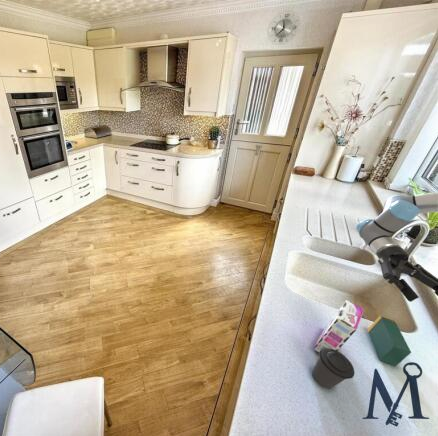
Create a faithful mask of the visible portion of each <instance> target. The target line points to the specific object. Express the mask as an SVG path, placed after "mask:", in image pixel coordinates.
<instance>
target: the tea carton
mask: <svg viewBox="0 0 438 436" xmlns="http://www.w3.org/2000/svg"><path fill="white" fill-rule="evenodd" d="M366 330H367V333H368V336H369V337H370V339H371V342H372V346H373V348H374V350H375V353H376V355H377V358H378V361H380V362H382V363H385V364H387V365H389V366H392V367H397V366H398V365H399V364H401V362H403V361H404V360H405V359H406V358H407V357H408V356H409V355H411V353H412V351H411V348H410V347H409V345H408V343H407V341H406V339H405V337H404V336H403V333H402V332H401V330H400V328H399V326H398V323H397V321H396V320H394V319H392V318H389V317H385V316H384V315H383V316H382V315H378V316H377V318H376V319H375V320H374V321H373V323H371V324H370V326H369V327H368V328H367V329H366Z"/></svg>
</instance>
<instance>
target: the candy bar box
mask: <svg viewBox="0 0 438 436" xmlns="http://www.w3.org/2000/svg"><path fill="white" fill-rule="evenodd" d="M364 311H365V309H364V308H362V307H361V306H359V305H356V304H354V303H353V302H352V301H349V300H347V299H346V300H345V301H344V302H343V304H342V305H341V306H340V308H339V309H338V310H337V312H336V313H335V314H334V315H333V317H332V318H331V320H330V321H329V322H328V323H327V325H326V326H325V327H324V329H322V332H321V333H320V335H319V337H318V339H317V341H316V343H315V344H314V346H313V348H312V349H313V351H314V352H316V353H318V354H319V355H320V351H321V350H322V349H325V348H330V349H334V350H336V351H338V352H339V350H340V349H341V348H342V347H343V345H344V344H345V343H346V342H347V341H348V340H349V339H350V338H351V337H352V336H353V335H354V333H356V331H357V330H358V327H359V324H360V322H361V319H362V317H363V314H364Z"/></svg>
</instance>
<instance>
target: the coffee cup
mask: <svg viewBox="0 0 438 436" xmlns="http://www.w3.org/2000/svg"><path fill="white" fill-rule="evenodd" d="M311 376H312V379H313V380H314V382H315V383H316V384H317V385H318V386H319V387H321V388H323V389H327V390H329V389H332V388H334V387H335V386H338V385H339V384H341V383H342V382H343V381H345V380H349V379H353V378H354V377H355V368H354V365H353V364H352V362H351V361H350V359H349V358H348V357H347V356H346V355H344V354H343V353H341V352H340V351H339V350H338V351H336V350H334V349H330V348H325V349H322V350H321V351H320V354H319V356H318V359H317V361H316V363H315V366H314V367H313V369H312V371H311Z"/></svg>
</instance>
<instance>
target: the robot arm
mask: <svg viewBox="0 0 438 436" xmlns="http://www.w3.org/2000/svg"><path fill="white" fill-rule="evenodd" d="M431 213H438V191H435V192H428V193H421V194H414V195H402V194H396V195H392V196H390V197H389V198H387V200H386V201H385V202H384V205H383V210H382V212H381V213H380V214H379V215H378V216H376V218H374V219H372V218H368V219H364V220H363V221H359V222H358V224H356V226H355V230H356V232H357V233H358V235H359V237H360V238H361V239H363V241H364V243H366V244H367V246H368V248H370V249H371V250H372V252H373V254H374V255H376V257H377V258H378V260H377V262H378V264H379V265H380V269H381V273H382V278H383V279H384V280H386V281H387V282H388V284H390V285H392V284H394V285H395V286H396V287H397V289H398V290H399V291H400V292H401V294H402V295H403V296H404V298H405V299H406V301H408V302H410V303H412V302H413V301H415V300H417V299H419V298H420V296H419V295H418V294H417V292H416V291H414V289H413V287H411V286H410V285H409V284H408V282H407V281H406V280H405V279H404V278H401V277H402V274H405V275H407V276H408V277H410V278H414V279H415V280H417V281H419V282H420V283H422V284H424V285H425V286H426V287H428V288H429V289H432V290H433V293H434V294H435V296H437V297H438V277H437V276H435V275H433V274H432V273H431V272H430V271H428V270H427V269H426V268H424V267H423V266H422V265H421V264H419V263H416V264H413V263H412V262H410V261H409V258H410V256H409V253H408V252H407V251H406V250H405V249H403V247H402V246H401V245H400V244H399V243H398V242H397V241H396V240H395V238H393V237H392V236H391V235H393V234H394V233H396V232H397V231H399V229H401V228H403V227H404V226H405V225H407V224H409V222H411V221H413V220H414V219H415V218H416V217H417V216H418V215H420V214H431Z"/></svg>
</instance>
